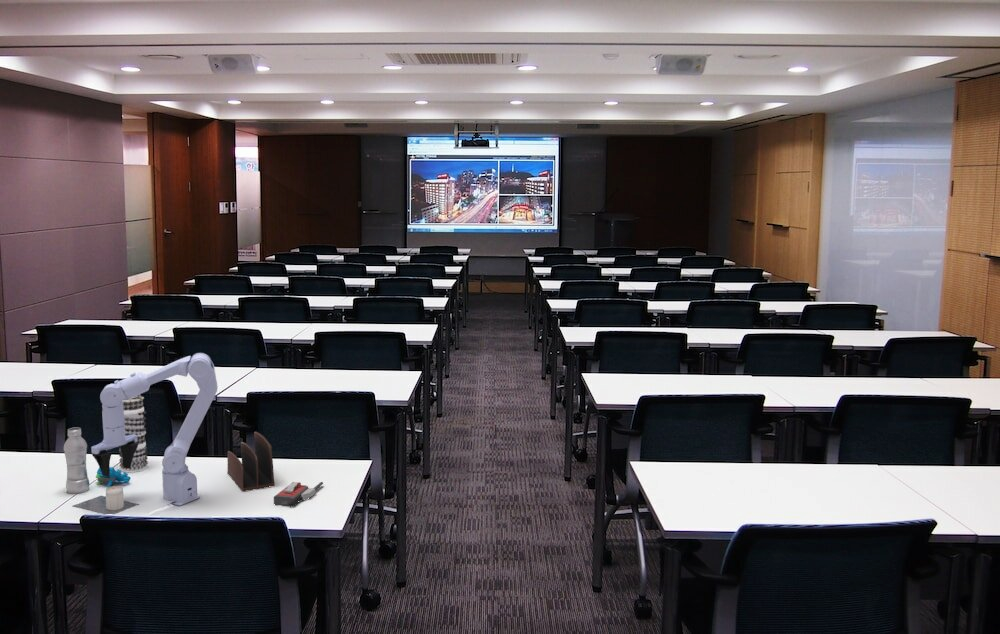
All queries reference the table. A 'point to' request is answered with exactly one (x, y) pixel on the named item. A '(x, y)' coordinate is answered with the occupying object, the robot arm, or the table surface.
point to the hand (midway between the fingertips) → (116, 471)
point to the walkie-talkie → (294, 494)
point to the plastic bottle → (76, 462)
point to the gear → (112, 477)
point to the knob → (114, 498)
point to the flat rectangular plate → (102, 505)
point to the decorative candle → (135, 432)
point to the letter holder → (252, 465)
